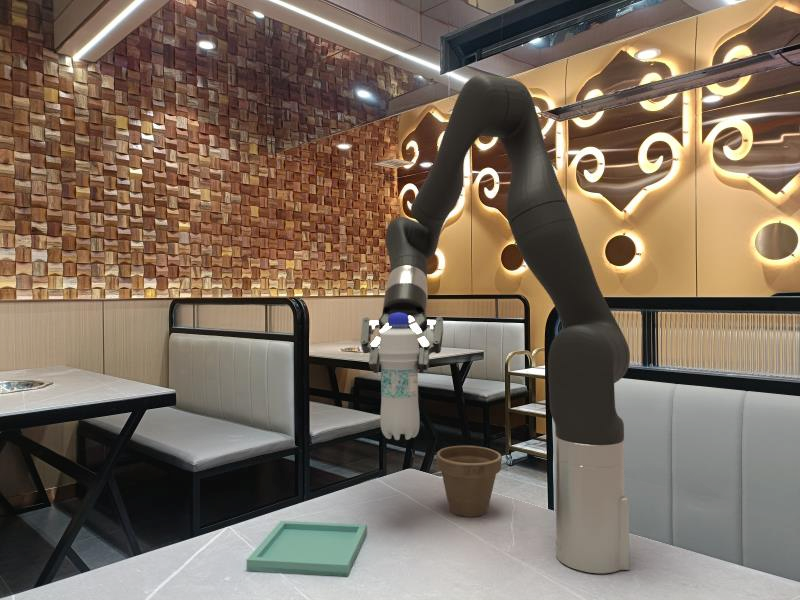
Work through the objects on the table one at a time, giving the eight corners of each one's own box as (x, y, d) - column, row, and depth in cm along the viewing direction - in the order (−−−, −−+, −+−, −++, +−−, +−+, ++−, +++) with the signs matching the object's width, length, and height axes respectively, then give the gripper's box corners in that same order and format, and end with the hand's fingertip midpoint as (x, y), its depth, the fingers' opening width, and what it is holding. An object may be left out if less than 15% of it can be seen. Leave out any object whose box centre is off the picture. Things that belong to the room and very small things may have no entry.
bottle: (417, 442, 87) (415, 312, 87) (374, 441, 88) (373, 312, 88) (424, 432, 93) (422, 311, 93) (384, 431, 95) (383, 312, 95)
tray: (366, 534, 89) (366, 524, 89) (347, 576, 75) (347, 565, 75) (280, 530, 91) (280, 520, 91) (246, 570, 77) (246, 559, 77)
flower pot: (507, 523, 93) (507, 462, 93) (438, 523, 93) (438, 462, 93) (496, 499, 105) (495, 445, 105) (434, 499, 105) (434, 445, 105)
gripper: (363, 281, 99) (349, 354, 87) (445, 280, 97) (442, 354, 86) (369, 311, 104) (356, 384, 93) (447, 310, 103) (444, 384, 91)
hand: (398, 369), depth 89 cm, fingers closed on bottle, 6 cm apart
